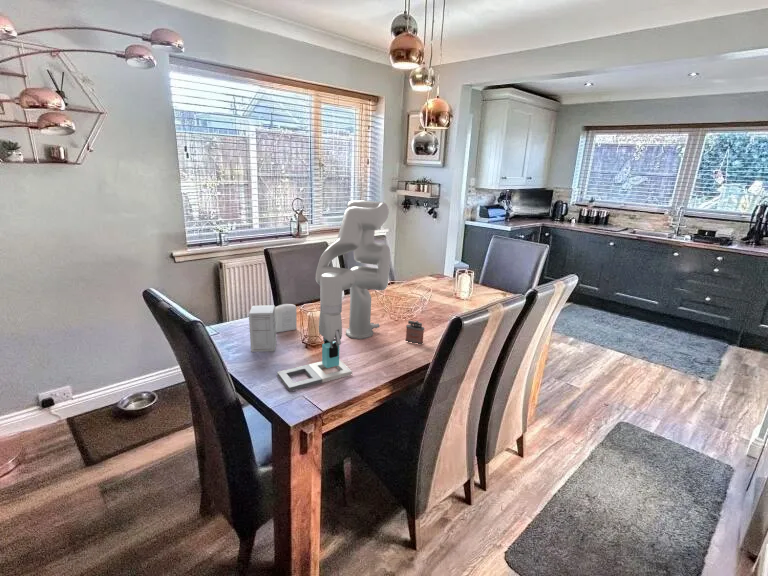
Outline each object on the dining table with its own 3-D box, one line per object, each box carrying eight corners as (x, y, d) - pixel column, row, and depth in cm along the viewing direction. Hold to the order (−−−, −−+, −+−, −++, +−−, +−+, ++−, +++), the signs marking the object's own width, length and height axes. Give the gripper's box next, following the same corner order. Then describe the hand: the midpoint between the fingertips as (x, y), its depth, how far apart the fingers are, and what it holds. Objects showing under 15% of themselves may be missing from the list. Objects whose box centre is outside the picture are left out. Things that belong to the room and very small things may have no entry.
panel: (337, 361, 155) (337, 357, 155) (352, 374, 146) (352, 371, 145) (277, 375, 142) (277, 371, 142) (289, 391, 133) (289, 387, 132)
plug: (334, 360, 150) (334, 341, 147) (339, 365, 146) (339, 345, 144) (322, 363, 147) (322, 344, 145) (326, 368, 144) (326, 348, 141)
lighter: (423, 342, 176) (425, 321, 173) (422, 345, 173) (423, 324, 170) (406, 339, 178) (407, 318, 175) (404, 342, 175) (405, 321, 172)
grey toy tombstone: (294, 326, 186) (294, 301, 182) (298, 329, 182) (297, 304, 179) (273, 330, 180) (272, 304, 177) (276, 333, 177) (275, 307, 173)
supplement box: (276, 342, 169) (275, 304, 164) (275, 351, 160) (273, 312, 155) (253, 342, 167) (251, 304, 162) (250, 352, 158) (248, 312, 153)
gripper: (311, 301, 144) (311, 347, 150) (332, 317, 131) (331, 366, 137) (330, 298, 148) (329, 343, 154) (351, 313, 135) (350, 361, 141)
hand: (330, 353), depth 145 cm, fingers closed on plug, 3 cm apart
